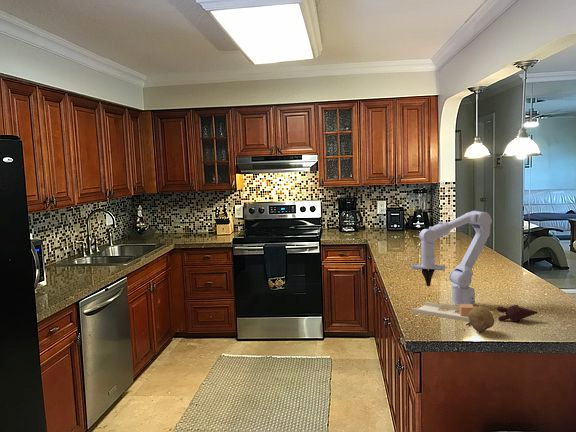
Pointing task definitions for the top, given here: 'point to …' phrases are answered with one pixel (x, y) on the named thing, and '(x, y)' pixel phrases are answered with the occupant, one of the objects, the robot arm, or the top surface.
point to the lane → (434, 311)
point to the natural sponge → (481, 318)
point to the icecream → (515, 313)
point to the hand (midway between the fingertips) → (428, 285)
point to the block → (465, 309)
